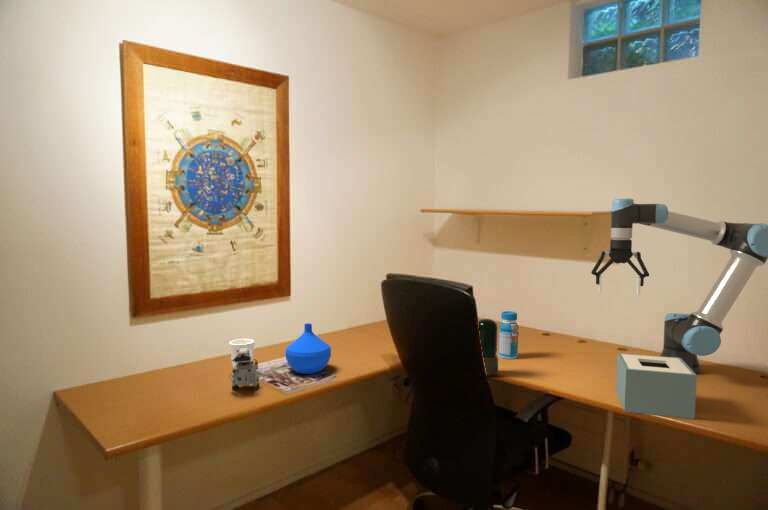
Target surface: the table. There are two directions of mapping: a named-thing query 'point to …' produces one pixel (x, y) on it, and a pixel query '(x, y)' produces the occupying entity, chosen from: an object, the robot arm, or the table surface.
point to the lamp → (489, 345)
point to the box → (656, 385)
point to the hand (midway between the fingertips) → (618, 293)
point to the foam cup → (239, 344)
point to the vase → (308, 353)
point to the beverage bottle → (508, 335)
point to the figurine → (244, 370)
